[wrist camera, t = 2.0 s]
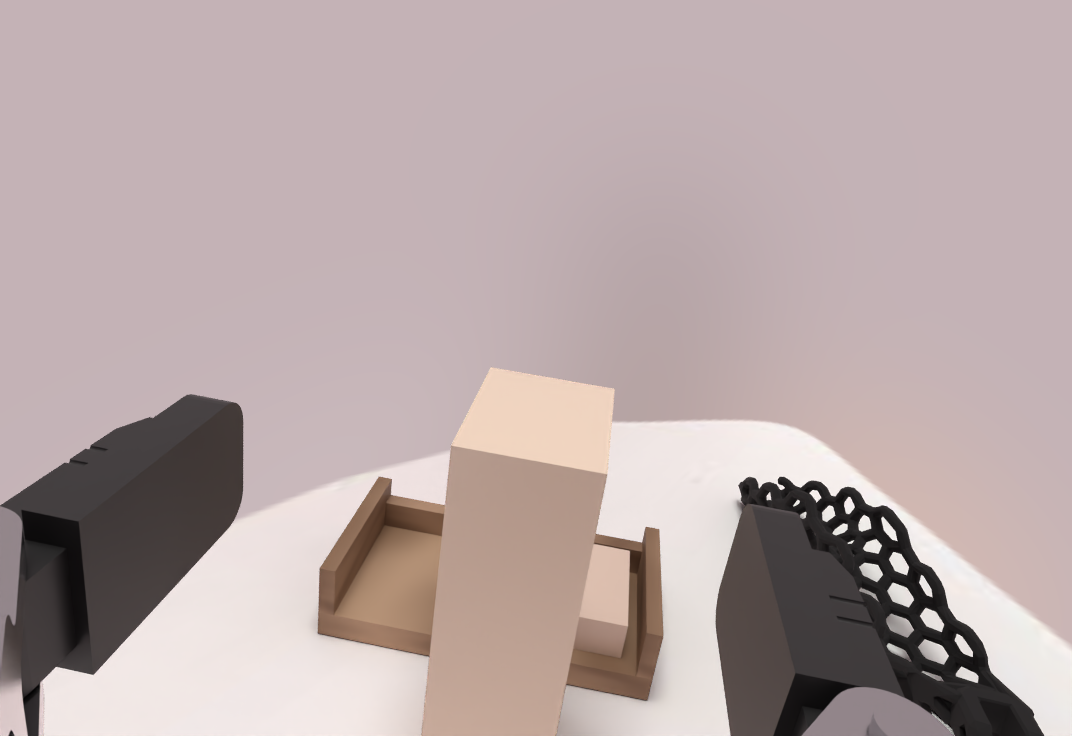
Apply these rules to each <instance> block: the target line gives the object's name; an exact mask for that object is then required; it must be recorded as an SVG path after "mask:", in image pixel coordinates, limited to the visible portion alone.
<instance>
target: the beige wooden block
mask: <svg viewBox="0 0 1072 736" xmlns="http://www.w3.org/2000/svg"><path fill="white" fill-rule="evenodd" d="M613 402H614V389H611V388H605V387H600V386H594V385H589V384H583V383H577V382H571V381H566V380H560V379H555V378H549V377H543V376H537V375H532V374H526V373H520V372H515V371H509V370H503V369H497V368H491V369H490V370H489V372H488V374H487V376H486V378H485V380H484V382H483V384H482V386H481V388H480V390H479V392H478V394H477V396H476V398H475V400H474V402H473V404H472V406H471V408H470V410H469V412H468V414H467V416H466V417H465V420H464V421H463V423H462V425H461V427H460V429H459V431H458V433H457V435H456V437H455V439H454V441H453V443H452V445H451V453H450V462H449V472H448V482H447V491H446V501H445V511H444V521H443V530H442V540H441V550H440V559H439V569H438V579H437V589H436V598H435V608H434V618H433V627H432V637H431V647H430V657H429V666H428V676H427V686H426V695H425V705H424V715H423V725H422V734H421V736H556V733H557V728H558V723H559V718H560V713H561V708H562V703H563V697H564V692H565V687H566V682H567V677H568V672H569V667H570V662H571V657H572V652H573V646H574V641H575V636H576V631H577V626H578V621H579V616H580V611H581V606H582V601H583V595H584V590H585V585H586V580H587V575H588V570H589V565H590V560H591V555H592V550H593V545H594V539H595V534H596V529H597V524H598V519H599V514H600V509H601V504H602V499H603V494H604V488H605V483H606V478H607V472H608V460H609V448H610V437H611V425H612V413H613Z"/></svg>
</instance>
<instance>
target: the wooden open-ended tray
mask: <svg viewBox="0 0 1072 736" xmlns="http://www.w3.org/2000/svg"><path fill="white" fill-rule="evenodd" d="M391 483H392V479H389V478H383V477H379V478H378V479H377V481H376V482H375V484H374V485H373V487H372V488H371V490H370V491H369V493H368V495H367V496H366V498H365V499H364V501H363V502H362V504H361V505H360V507H359V508H358V510H357V512H356V513H355V515H354V516H353V518H352V519H351V521H350V522H349V524H348V525H347V527H346V529H345V530H344V532H343V533H342V535H341V536H340V538H339V539H338V541H337V543H336V544H335V546H334V547H333V549H332V550H331V552H330V553H329V555H328V556H327V558H326V560H325V561H324V563H323V564H322V566H321V567H320V577H319V612H318V633H320V634H324V635H329V636H334V637H339V638H344V639H349V640H354V641H359V642H364V643H369V644H373V645H378V646H383V647H388V648H393V649H398V650H403V651H408V652H413V653H418V654H422V655H427V656H430V647H431V637H432V627H433V618H434V608H435V598H436V589H437V579H438V569H439V559H440V550H441V540H442V530H443V521H444V511H445V505H440V504H435V503H430V502H424V501H419V500H414V499H409V498H403V497H398V496H393V495H391ZM594 544H597V545H602V546H607V547H613V548H618V549H623V550H628V551H630V567H629V607H628V629H627V633H626V637H625V642H624V646H623V651H622V655H621V658H617V657H612V656H607V655H602V654H597V653H592V652H587V651H582V650H577V649H573V652H572V657H571V662H570V667H569V672H568V677H567V682H566V684H569V685H574V686H579V687H584V688H589V689H594V690H599V691H604V692H609V693H614V694H618V695H623V696H628V697H633V698H638V699H643V700H647V699H648V695H649V691H650V687H651V683H652V679H653V675H654V671H655V667H656V663H657V659H658V655H659V651H660V647H661V643H662V639H663V617H662V591H661V564H660V538H659V529H655V528H649V527H646V528H645V532H644V537H643V541H642V543H641V542H636V541H630V540H625V539H620V538H614V537H609V536H604V535H599V534H595V539H594Z"/></svg>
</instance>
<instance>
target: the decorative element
mask: <svg viewBox="0 0 1072 736" xmlns="http://www.w3.org/2000/svg"><path fill="white" fill-rule="evenodd" d="M778 484H780V485H783V486H784V487H785V489H783V490H780V489H779V488H778V486H777V485H776V484H774V483H771V482H767V483H764V484H763V485H762V486H761V487H760V489H759V487H758V482H757V480H756V479H755V478H753V477H748V478H746V479H745V480H744V481H743V482H741V483H740V484H739V485H738V486H739V489H740V492H741V496H742V497H741V501H742V502H743V504H744V505H745V506H746V505H747V504H754V505H759V506H764V507H769V508H774V509H779V510H784V511H790V512H795V513H798V514H799V516H800V515H801V514H802V513H804V512H806V513H807V515H806V518H805V519H801V521H802V523H803V526H804V529H805V532H806V534H807V537H808V540H809V542H810V545H811V548H812V549H814V550H819V551H824V552H829V553H831V555H832V556H833V557H834V558H835V559H836V560H837V561H838V562H839V563H840V564H841V565H842V566H843V567H844V568H845V569H846V570H847V571H848V572H849V573H850V574H851V575H852V576H853V578H854V580H855V583H856V585H857V587H858V590H859V589H860V588H863V589H866V590H868V591H870V592H872V593H874V594H876V596H877V598H878V600H879V602H880V603H879V602H878V601H877V600H876V599H874V598H873V597H872V596H871V595H868V594H865V593H862V592H860V594H861V597H862V599H863V601H864V604H863V607H866V608H867V611H868V613H869V615H870V618H871V620H872V622H873V625H872V628H874V629H876V632H877V634H878V636H879V639H880V641H881V643H882V646H883V648H884V650H885V653H886V655H887V657H888V660H889V662H890V664H891V667H892V669H893V671H894V674H895V676H896V678H897V681H898V683H899V685H900V688H901V690H902V692H903V695H904V697H905V698H906V699H908V700H910V701H911V702H913V703H915V704H917V705H919V706H920V707H922V708H923V709H924V710H926V711H927V712H929V713H930V714H931V715H932V713H931V709H932V710H933V711H934V712H935V713H936V714H937V715H938V716H939V717H940V718H941V719H942V720H943V722H944V723H945V724H949V725H950V726H951V728H952V730H953V732H954V734H955V736H1044V734H1043V733H1042V731H1041V729H1040V728H1039V726H1038V724H1037V722H1036V721H1035V719H1034V713H1033V711H1032V709H1030V708H1029V707H1028V706H1027V705H1026V704H1025V703H1024V702H1023V701H1022V700H1021V699H1019V698H1018V697H1017V696H1016V695H1015V694H1014V693H1013V692H1012V691H1011V690H1010V689H1008V688H1007V687H1006V686H1005V685H1004V684H1003V683H1002V682H1001V681H1000V680H999V679H997V678H996V677H995V676H994V675H993V674H992V673H991V671H990V668H989V665H988V657H987V654H986V651H985V648H984V645H983V643H982V641H981V640H980V639H979V637H978V636H977V635H976V633H975V632H974V631H973V630H972V629H971V628H970V627H969V626H968V625H966V624H964V623H962V622H960V621H958V620H956V618H955V617H954V615H953V614H952V612H951V611H950V609H949V608H948V604H947V599H946V595H945V590H944V587H943V585H942V583H941V581H940V579H939V578H938V576H937V575H936V573H935V572H934V570H933V569H932V568H931V567H929V566H927V565H925V564H923V563H921V562H920V561H919V559H918V557H917V556H916V554H915V552H914V551H913V549H912V547H911V543H910V539H909V535H908V531H907V529H906V527H905V526H904V524H903V523H902V522H901V520H900V519H899V518H898V517H897V515H896V514H895V513H894V512H893V510H891V509H890V508H888V507H887V506H883V505H882V506H879V507H871V506H869V505H867V504H866V503H865V501H864V499H863V498H862V496H861V494H860V493H859V492H858V491H857V490H856V489H855V488H851V487H845V488H842V489H841V490H840V491H839V493H838V494H837V495H836V497H834V496H831V495H830V493H829V490H828V488H827V487H826V486H825V485H824V484H823V483H821V482H818V481H809V482H807V483H806V484H805V485H804V486H802V487H801V488H800V487H797V486H795V485H794V484H793V483H792V482H791V481H790V480H788V479H787V478H785V477H779V479H778ZM812 490H817V491H818V492H819V494H820V496H821V499H820V500H819V501H818V502H817V503H816V501H815V499H814V498H813V497H812V495H810V494H809V493H810V492H811V491H812ZM769 492H770V493H771V500H772V501H771V500H767V499H766V496H767V495H768V493H769ZM848 497H851V499H852V501H853V503H854V505H855V508H854V510H853V511H852V512H851V513H850V514H846V512H845V508H844V502H845V501H846V499H847V498H848ZM797 500H800V503H799V504H798V505H796V506H794V507H793V505H794V504H795V502H796V501H797ZM829 505H830V506H833V507H834V511H835V515H836V516H834V517H833V518H832V519H830V520H829V521H828V522H825V521H823V520H822V512H823V511H824V510H825V509H826V508H827V507H828V506H829ZM863 515H866V516H868V517H869V519H870V521H871V529H869V530H866V531H863V532H861V531H859V528H858V524H859V521H860V519H861V518H862V516H863ZM882 517H884V518H885V519H886V520H887V522H888V523H889V524H890V525H891V526H892V528H893V529H894V530H895V531H896V536H897V540H898V541H894V540H892V539H891V538H890V537H889V536H888V535H887V534H886V533H885V531H884V530H883V525H882V520H881V518H882ZM843 523H844V524H848V530H847V531H846V532H845V533H842V534H839V535H837V536H836V535H833V534H832V533H833V531H834V530H835V529H836V528H837V527H839V526H840V525H842V524H843ZM814 533H815V534H814ZM875 539H877V540H878V541H879V542H880V544H881V545H882V547H881V549H880V552H879V554H876V553H871V552H866V551H864V550H863V547H864V546H865V544H866V542H868V541H871V540H875ZM853 540H854V542H853V543H852V544H848V542H850V541H853ZM893 552H896V553H900V554H902V556H903V557H904V559H905V561H906V562H907V564H908V566H909V570H908V574H907V575H904V574H901V573H899V572H896V571H895V570H894V569H893V567H892V565H891V563H890V561H889V558H890V556H891V555H892V553H893ZM863 563H870V564H876V565H878V566H879V567H880V569H881V571H882V573H883V576H882V577H881V578H880V580H879V581H878V582H875V581H873V580H871V579H869V578H867V577H865V576H863V575H862V573H861V571H860V569H859V566H861V565H862V564H863ZM921 575H923V576H924V578H925V579H926V581H927V583H928V584H929V586H930V587H931V589H932V596H933V598H932V597H930V596H927V595H926V594H925V592H924V591H923V589H922V587H921V585H920V584H919V581H920V577H921ZM892 583H896V584H899V585H901V586H904V587H907V588H908V590H909V592H910V593H911V595H912V596H913V598H914V601H913V602H912V604H911V605H910V607H909V608H908V607H906V606H903V605H900V604H898V603H895V602H892V600H891V598H890V596H889V594H888V592H887V590H888V589H889V587H890V586H891V584H892ZM880 604H881V605H880ZM925 608H928V609H930V610H933V611H936V612H937V614H938V615H939V617H940V618H941V620H942V622H943V623H944V627H943V630H942V632H940V631H937V630H934V629H932V628H929V627H927V626H926V625H925V624H924V622H923V621H922V619H921V617H920V615H921V613H922V612H923V610H924V609H925ZM890 614H894V615H897V616H900V617H903V618H906V619H907V620H909V622H910V624H911V625H912V627H913V629H914V631H913V632H912V633H911V634H910V636H909V637H908V638H906V637H904V636H901V635H899V634H897V633H894V632H892V631H890V629H889V627H888V625H887V623H886V618H887V617H888V616H889V615H890ZM956 634H959V635H961V636H962V637H963V638H964V639H965V641H966V642H967V644H968V645H969V647H970V648H971V650H972V651H973V657H970V656H968V655H965V654H963V653H962V652H961V651H960V649H959V647H958V646H957V644H956V642H955V641H954V640H955V637H956ZM924 639H926V640H929V641H932V642H934V643H937V644H940V645H942V646H943V647H944V649H945V650H946V652H947V654H948V655H949V657H948V659H947V660H946V662H945V664H944V665H943V664H940V663H937V662H934V661H931V660H928V659H926V658H925V657H924V656H923V655H922V653H921V652H920V650H919V649H918V646H919V645H920V644H921V643H922V642H923V640H924ZM888 643H890V644H892V645H895V646H897V647H899V648H902V649H904V650H906V652H907V654H908V655H909V657H910V659H911V661H912V662H909V661H908V660H906V659H904V658H902V657H900V656H897V655H895V654H893V653H891V652H890V651H889V650H888V648H887V644H888ZM961 666H962V667H964V668H966V669H968V670H970V671H972V672H975V673H976V674H977V675H978V676H979V679H978V683H975V682H972V681H968V680H965V679H962V678H959V677H956V673H957V671H958V670H959V669H960V667H961ZM922 671H926V672H929V673H932V674H935V675H938V676H941V677H942V679H943V680H944V681H945V682H943V681H937V680H935V679H933V678H931V677H929V676H927V675H926V674H924V673H922ZM930 708H931V709H930Z"/></svg>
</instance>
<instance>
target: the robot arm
mask: <svg viewBox="0 0 1072 736" xmlns="http://www.w3.org/2000/svg"><path fill="white" fill-rule="evenodd" d="M242 494H243V415H242V410H241V408H240V406H239V405H238V404H237V403H233V402H228V401H223V400H218V399H213V398H207V397H203V396H197V395H186V396H185V397H183V398H181V399H180V400H179V401H177V402H176V403H174V404H173V405H171V406H170V407H169V408H167V409H166V410H164V411H163V412H161V413H160V414H158V415H157V416H155V417H154V418H150V417H149V418H146V419H143V420H141V421H137V422H135V423H132V424H129V425H126V426H123V427H120V428H117V429H115V430H113V431H112V432H110V433H109V434H107V435H106V436H104V437H103V438H101V439H100V440H98V441H97V442H95V443H94V444H92V445H91V447H90V449H85V450H83V451H82V452H80V453H79V454H77V455H76V456H74V457H73V458H71V459H70V462H69V463H64V464H62V465H61V466H59V467H58V468H56V469H54V470H53V471H51V472H50V473H49V474H47V475H46V476H44V477H42V478H41V479H39V480H38V481H36V482H35V483H34V484H32V485H31V486H29V487H27V488H26V489H24V490H23V491H21V492H20V493H18V494H17V495H16V496H14V497H13V498H11V499H9V500H8V501H6V502H5V503H4V504H2V505H0V736H44V691H43V683H42V680H43V679H44V678H45V677H46V676H47V675H48V674H49V673H50V672H51V671H52V670H53V669H54V668H55V667H60V668H65V669H69V670H74V671H78V672H83V673H87V674H92V675H94V674H95V673H96V671H97V670H98V669H99V668H100V667H101V666H102V665H103V664H104V663H105V662H106V661H107V660H108V658H109V657H110V656H111V655H112V654H113V653H114V652H115V651H116V650H117V649H118V648H119V646H120V645H121V644H122V643H123V642H124V641H125V640H126V639H127V638H128V637H129V636H130V635H131V633H132V632H133V631H134V630H135V629H136V628H137V627H138V626H139V625H140V624H141V623H142V621H143V620H144V619H145V618H146V617H147V616H148V615H149V614H150V613H151V612H152V611H153V610H154V608H155V607H156V606H157V605H158V604H159V603H160V602H161V601H162V600H163V599H164V598H165V597H166V595H167V594H168V593H169V592H170V591H171V590H172V589H173V588H174V587H175V586H176V585H177V583H178V582H179V581H180V580H181V579H182V578H183V577H184V576H185V575H186V574H187V573H188V572H189V570H190V569H191V568H192V567H193V566H194V565H195V564H196V563H197V562H198V561H199V560H200V558H201V557H202V556H203V555H204V554H205V553H206V552H207V551H208V550H209V549H210V548H211V547H212V545H213V544H214V543H215V542H216V541H217V540H218V539H219V538H220V537H221V536H222V535H223V534H224V532H225V531H226V530H227V529H228V528H229V527H230V526H231V524H232V522H233V521H234V519H235V517H236V515H237V512H238V510H239V507H240V504H241V500H242ZM863 604H864V601H863V599H862V597H861V594H860V592H859V590H858V587H857V585H856V583H855V580H854V578H853V576H852V575H851V574H850V573H849V572H848V571H847V570H846V569H845V568H844V567H843V566H842V565H841V564H840V563H839V562H838V561H837V560H836V559H835V558H834V557H833V556H832V555H831V553H829V552H824V551H819V550H814V549H812V548H811V545H810V542H809V540H808V537H807V534H806V532H805V529H804V526H803V523H802V521H801V518H800V516H799V514H798V513H795V512H790V511H784V510H779V509H774V508H769V507H764V506H759V505H754V504H747V505H746V506H745V507H744V509H743V511H742V514H741V517H740V520H739V523H738V527H737V530H736V533H735V537H734V540H733V544H732V547H731V551H730V554H729V557H728V561H727V564H726V568H725V571H724V575H723V578H722V582H721V585H720V589H719V594H718V599H717V607H716V632H717V640H718V647H719V654H720V661H721V669H722V676H723V683H724V690H725V698H726V705H727V712H728V719H729V726H730V734H731V736H953V735H952V734H951V733H950V731H949V730H948V729H947V728H946V727H945V726H944V725H943V724H942V723H941V722H940V721H939V720H937V719H936V718H935V717H934V716H933V715H931V714H930V713H929V712H927V711H926V710H924V709H923V708H922V707H920V706H919V705H917V704H915V703H913V702H911V701H910V700H908V699H906V698H905V697H904V695H903V692H902V690H901V688H900V685H899V683H898V681H897V678H896V676H895V674H894V671H893V669H892V667H891V664H890V662H889V660H888V657H887V655H886V653H885V650H884V648H883V646H882V643H881V641H880V639H879V636H878V634H877V632H876V629H874V628H872V625H873V622H872V620H871V618H870V615H869V613H868V611H867V608H866V607H863Z"/></svg>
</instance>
